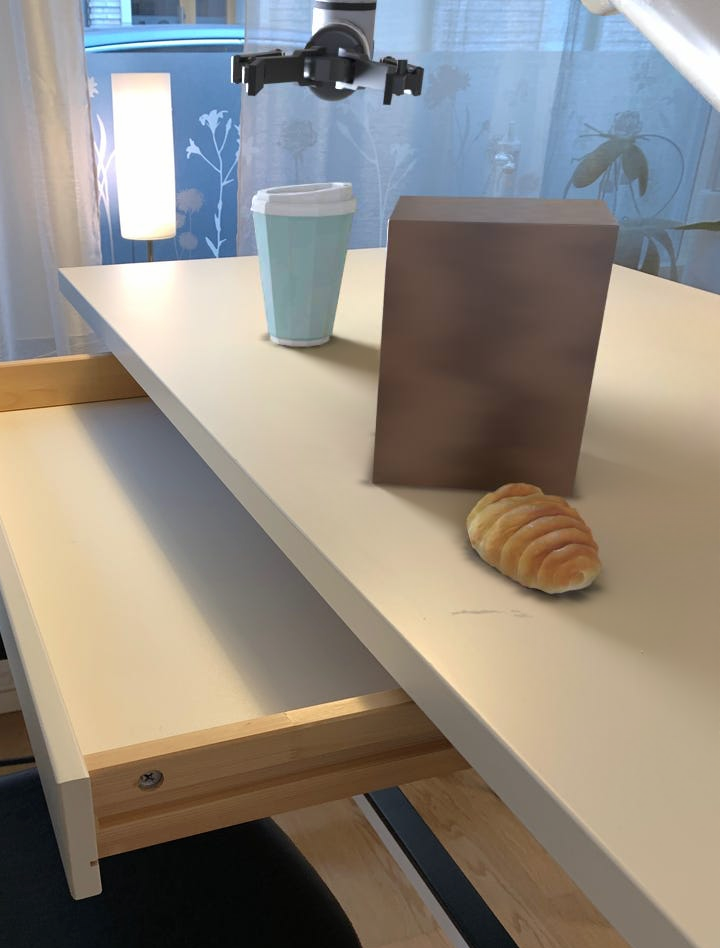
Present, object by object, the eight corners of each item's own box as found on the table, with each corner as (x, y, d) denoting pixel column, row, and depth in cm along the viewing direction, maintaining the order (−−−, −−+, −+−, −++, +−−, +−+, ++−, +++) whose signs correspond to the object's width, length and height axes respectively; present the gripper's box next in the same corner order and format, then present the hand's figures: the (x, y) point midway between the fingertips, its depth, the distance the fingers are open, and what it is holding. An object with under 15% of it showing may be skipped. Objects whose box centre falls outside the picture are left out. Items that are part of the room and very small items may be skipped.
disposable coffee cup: (236, 348, 104) (234, 189, 96) (267, 322, 112) (267, 174, 104) (338, 357, 101) (344, 193, 93) (361, 329, 109) (369, 177, 101)
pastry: (627, 591, 60) (640, 533, 58) (524, 609, 58) (533, 550, 56) (544, 526, 67) (552, 472, 65) (451, 540, 66) (457, 486, 64)
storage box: (553, 390, 91) (587, 171, 82) (571, 498, 71) (619, 225, 62) (396, 382, 94) (412, 169, 84) (372, 484, 74) (388, 220, 64)
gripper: (438, 104, 119) (440, 135, 102) (228, 90, 121) (195, 118, 104) (449, 29, 115) (452, 49, 97) (230, 16, 117) (196, 33, 100)
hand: (319, 85), depth 101 cm, fingers open, 13 cm apart
